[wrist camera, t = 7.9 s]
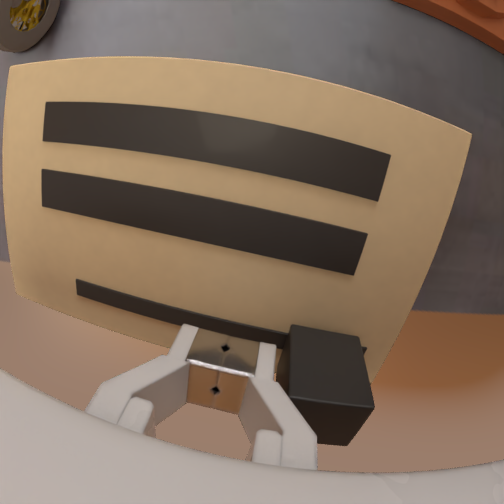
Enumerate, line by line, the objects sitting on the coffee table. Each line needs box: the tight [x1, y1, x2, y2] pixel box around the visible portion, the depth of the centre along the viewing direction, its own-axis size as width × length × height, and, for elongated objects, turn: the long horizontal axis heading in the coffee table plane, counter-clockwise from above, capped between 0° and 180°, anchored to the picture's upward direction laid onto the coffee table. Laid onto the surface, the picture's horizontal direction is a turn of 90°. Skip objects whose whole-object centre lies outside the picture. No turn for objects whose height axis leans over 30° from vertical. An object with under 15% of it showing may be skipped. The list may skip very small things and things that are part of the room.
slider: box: [276, 324, 375, 446], centre depth 9 cm, size 2×2×3 cm
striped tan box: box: [3, 56, 472, 385], centre depth 15 cm, size 16×10×11 cm, turn 79°
